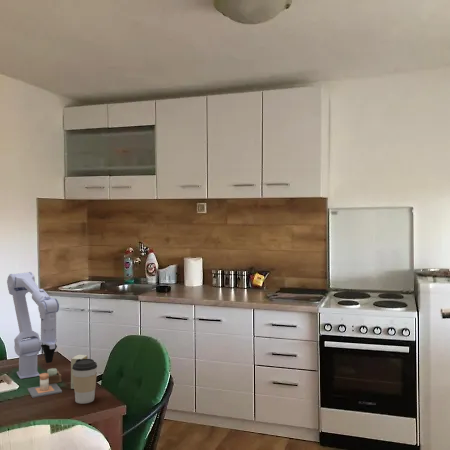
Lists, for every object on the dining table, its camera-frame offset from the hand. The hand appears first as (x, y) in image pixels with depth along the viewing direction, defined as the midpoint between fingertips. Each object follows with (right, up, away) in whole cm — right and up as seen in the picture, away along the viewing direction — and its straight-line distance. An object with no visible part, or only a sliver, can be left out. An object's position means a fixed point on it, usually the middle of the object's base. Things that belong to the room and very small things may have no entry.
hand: (48, 362), depth 204 cm
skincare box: (+13, -10, -1) cm, 16 cm away
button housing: (0, -9, +5) cm, 10 cm away
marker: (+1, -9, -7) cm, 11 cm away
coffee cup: (+19, -10, -15) cm, 26 cm away
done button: (0, -7, +5) cm, 9 cm away
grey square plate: (+1, -10, -6) cm, 12 cm away
